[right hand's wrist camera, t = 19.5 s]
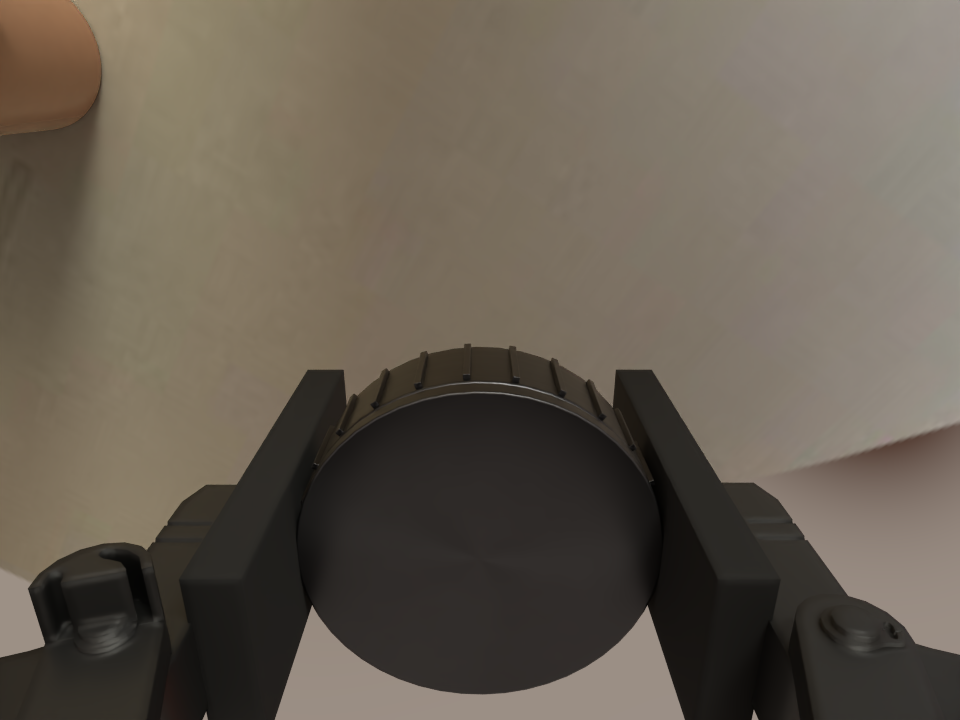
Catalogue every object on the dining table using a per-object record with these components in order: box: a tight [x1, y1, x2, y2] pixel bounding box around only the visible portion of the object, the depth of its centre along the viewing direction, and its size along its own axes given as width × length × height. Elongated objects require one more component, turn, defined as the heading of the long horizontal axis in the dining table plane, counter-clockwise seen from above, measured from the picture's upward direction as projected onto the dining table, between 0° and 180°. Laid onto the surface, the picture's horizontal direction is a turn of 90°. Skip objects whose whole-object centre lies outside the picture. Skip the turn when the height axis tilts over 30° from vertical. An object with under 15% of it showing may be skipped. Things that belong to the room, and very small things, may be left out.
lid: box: [296, 344, 664, 694], centre depth 11 cm, size 6×6×2 cm
